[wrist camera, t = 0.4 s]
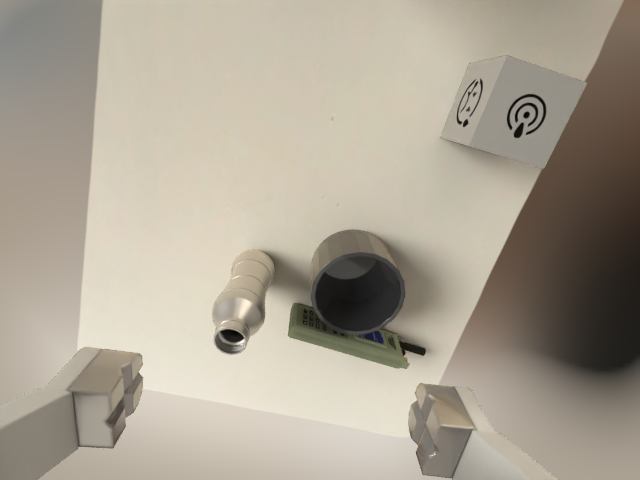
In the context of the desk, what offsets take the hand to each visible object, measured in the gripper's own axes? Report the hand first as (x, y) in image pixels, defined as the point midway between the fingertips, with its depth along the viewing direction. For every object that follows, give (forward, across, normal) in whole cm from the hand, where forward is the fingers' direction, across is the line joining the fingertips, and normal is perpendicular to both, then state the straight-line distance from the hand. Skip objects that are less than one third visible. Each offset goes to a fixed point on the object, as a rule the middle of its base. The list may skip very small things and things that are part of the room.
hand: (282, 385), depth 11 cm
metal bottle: (+45, +5, +18) cm, 49 cm away
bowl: (+45, -10, +16) cm, 49 cm away
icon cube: (+45, -24, -10) cm, 52 cm away
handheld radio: (+45, -14, +28) cm, 55 cm away
